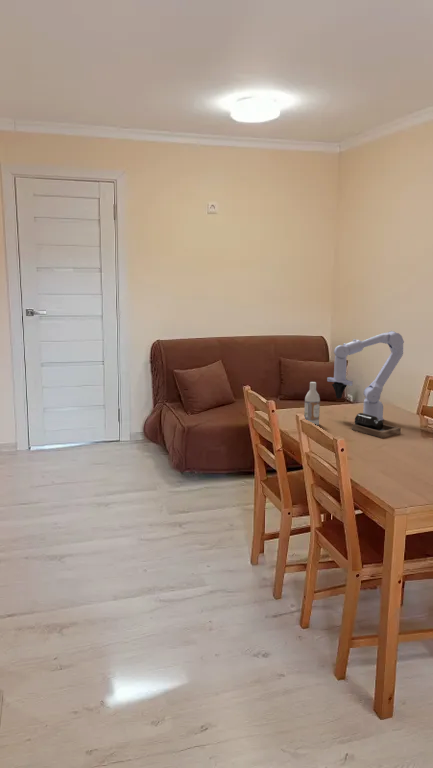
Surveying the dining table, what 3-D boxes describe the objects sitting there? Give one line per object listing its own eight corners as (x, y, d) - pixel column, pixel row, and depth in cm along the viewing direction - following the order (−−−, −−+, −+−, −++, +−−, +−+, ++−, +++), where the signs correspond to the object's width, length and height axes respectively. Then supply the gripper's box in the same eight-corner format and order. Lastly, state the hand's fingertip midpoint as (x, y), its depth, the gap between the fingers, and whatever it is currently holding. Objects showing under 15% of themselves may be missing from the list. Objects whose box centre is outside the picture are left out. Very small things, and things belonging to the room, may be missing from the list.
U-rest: (370, 425, 273) (370, 420, 272) (400, 433, 260) (400, 428, 259) (351, 430, 265) (352, 424, 265) (381, 438, 252) (381, 432, 252)
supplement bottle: (366, 416, 271) (387, 421, 261) (359, 429, 270) (380, 435, 260) (358, 410, 267) (379, 415, 257) (351, 423, 266) (372, 429, 256)
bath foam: (311, 426, 271) (312, 384, 267) (301, 423, 276) (302, 381, 273) (322, 424, 274) (323, 382, 271) (311, 421, 280) (313, 380, 276)
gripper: (323, 369, 285) (322, 396, 287) (345, 373, 273) (344, 401, 276) (333, 368, 289) (332, 395, 291) (356, 371, 277) (354, 399, 280)
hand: (338, 398), depth 284 cm, fingers closed
